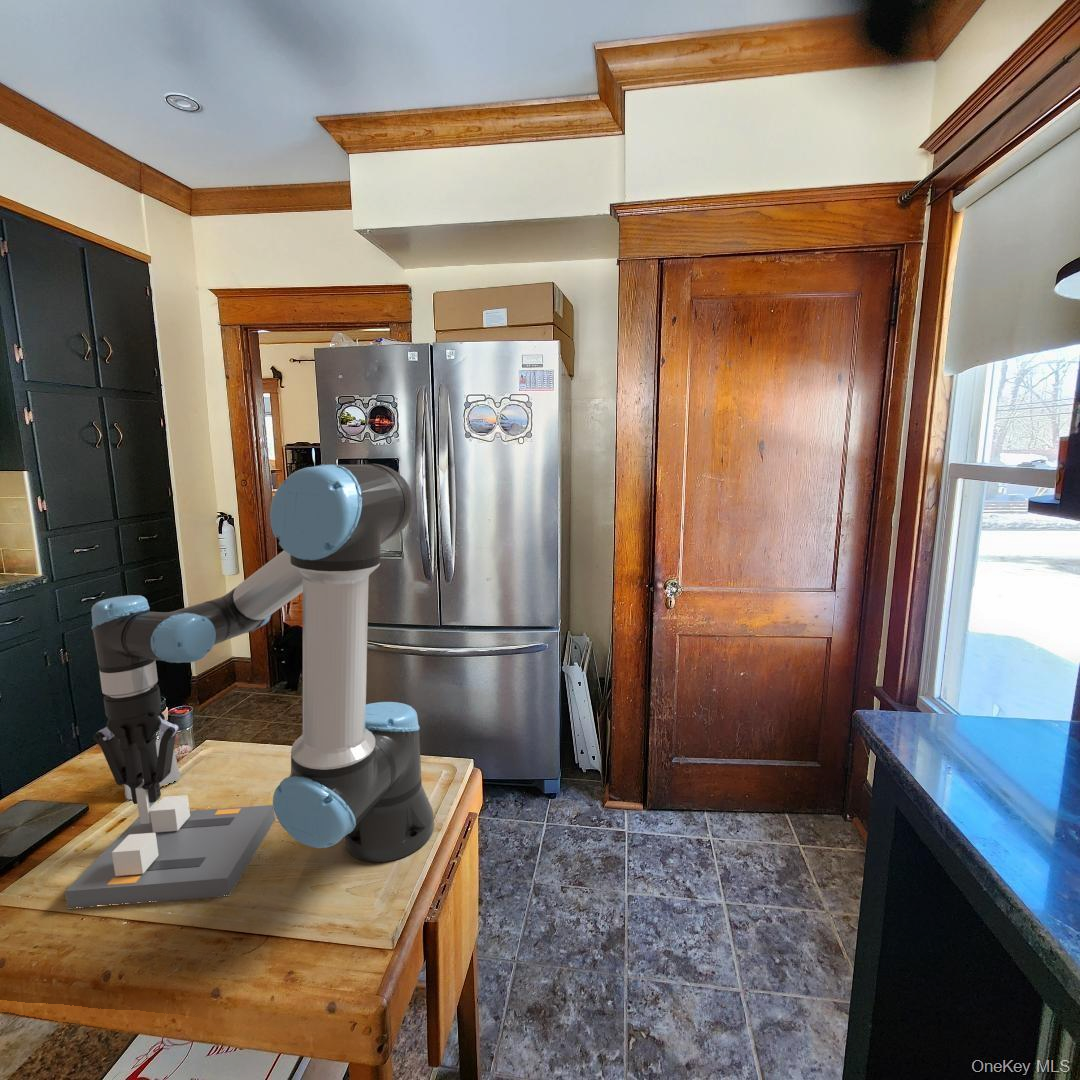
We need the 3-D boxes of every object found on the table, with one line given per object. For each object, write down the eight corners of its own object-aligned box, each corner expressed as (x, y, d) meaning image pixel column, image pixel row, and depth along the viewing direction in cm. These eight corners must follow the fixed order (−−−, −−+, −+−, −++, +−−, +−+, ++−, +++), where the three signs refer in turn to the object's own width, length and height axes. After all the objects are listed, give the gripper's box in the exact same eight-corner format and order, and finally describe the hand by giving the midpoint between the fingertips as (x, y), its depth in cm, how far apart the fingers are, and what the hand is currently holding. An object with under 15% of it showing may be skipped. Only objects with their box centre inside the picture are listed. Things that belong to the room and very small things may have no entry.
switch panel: (274, 819, 102) (273, 804, 101) (229, 895, 84) (227, 877, 84) (143, 829, 100) (141, 813, 100) (68, 909, 82) (65, 890, 82)
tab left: (158, 855, 88) (155, 832, 88) (143, 873, 85) (139, 850, 84) (132, 857, 88) (128, 834, 88) (115, 876, 84) (111, 852, 84)
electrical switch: (127, 803, 108) (120, 757, 107) (119, 796, 111) (112, 751, 111) (181, 781, 115) (174, 738, 115) (172, 775, 119) (166, 733, 118)
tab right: (190, 815, 98) (187, 795, 98) (177, 830, 94) (174, 809, 94) (166, 817, 98) (163, 796, 97) (152, 832, 94) (150, 810, 93)
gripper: (184, 677, 96) (200, 802, 100) (105, 682, 95) (123, 808, 99) (159, 695, 89) (177, 829, 92) (73, 701, 88) (94, 836, 91)
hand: (149, 818), depth 96 cm, fingers closed
